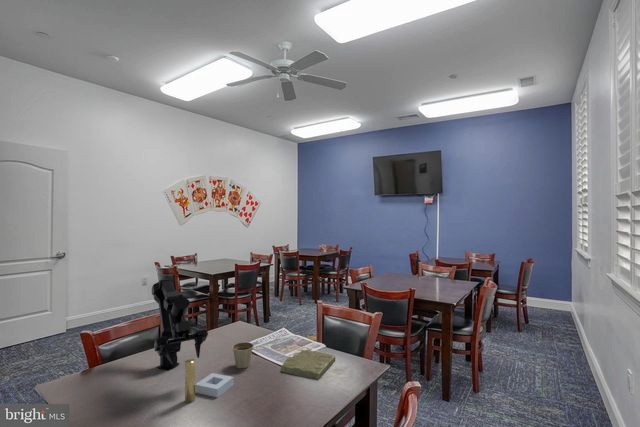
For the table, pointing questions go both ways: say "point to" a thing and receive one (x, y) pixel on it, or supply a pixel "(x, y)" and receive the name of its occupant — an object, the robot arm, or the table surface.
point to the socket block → (214, 385)
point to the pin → (190, 380)
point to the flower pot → (242, 354)
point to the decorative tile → (308, 364)
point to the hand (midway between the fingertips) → (185, 360)
